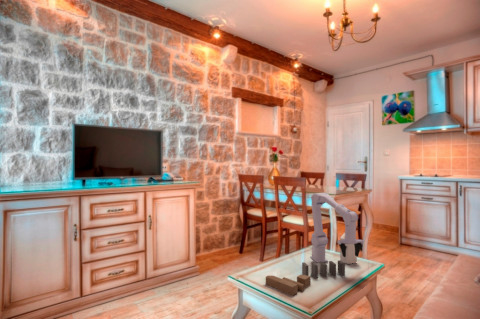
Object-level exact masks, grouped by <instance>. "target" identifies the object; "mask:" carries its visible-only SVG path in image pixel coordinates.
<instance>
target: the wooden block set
mask: <svg viewBox="0 0 480 319" xmlns="http://www.w3.org/2000/svg"><path fill="white" fill-rule="evenodd" d="M311 276H312V275H308V276H306V275H302V274H299V275H297V276H296V280H292V279H290V278H288V277H284V276H283V277H282V278H280V277H278V276H275V275H266V276H265V284H266V286H270V287H271V288H274V289H276V290H278V291H280V292H281V293H285V294H286V295H289V296H292V297H293V296H295V295H296V294H298V292H299V291H301V292H304V290H305V289H306V288H308V287H309V286H310V285H311V284H312V283H311V279H312V277H311Z"/></svg>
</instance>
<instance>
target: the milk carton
mask: <svg viewBox="0 0 480 319" xmlns="http://www.w3.org/2000/svg"><path fill="white" fill-rule="evenodd" d="M344 239H345V232H344V233H343V234H342V235H341V236H340V239H339V240H344ZM345 246H347V248H346V257H343V255H342V251H341V248H340V247H339V248H340V249H339V252H340V254H339V257H340V258H339V260H340V261H342V262H343V263H345V265H350V264H352V263H353V264H357V263H358V262H357V260H358V257H357V256H355V246H354V244H345ZM356 262H357V263H356ZM353 264H352V265H353Z"/></svg>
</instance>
